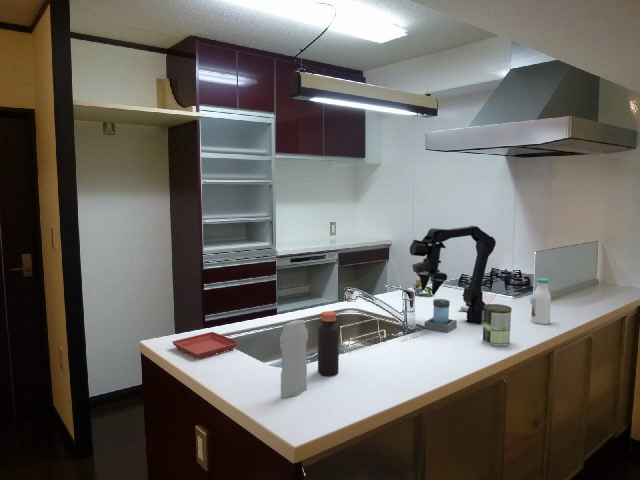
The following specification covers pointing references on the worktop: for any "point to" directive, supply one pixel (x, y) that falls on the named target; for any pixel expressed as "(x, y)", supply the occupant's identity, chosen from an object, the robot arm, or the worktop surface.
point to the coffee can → (496, 324)
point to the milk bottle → (541, 303)
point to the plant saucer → (205, 344)
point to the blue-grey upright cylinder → (441, 311)
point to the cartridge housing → (440, 325)
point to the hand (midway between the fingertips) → (428, 292)
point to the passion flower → (419, 290)
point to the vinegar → (328, 345)
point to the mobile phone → (485, 299)
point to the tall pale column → (293, 359)
